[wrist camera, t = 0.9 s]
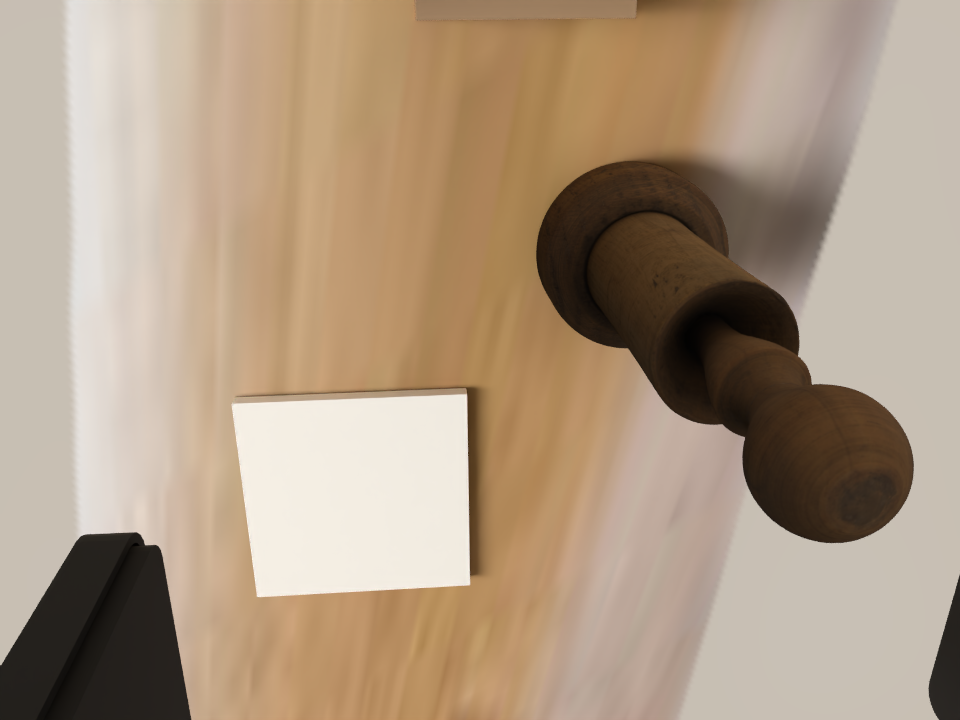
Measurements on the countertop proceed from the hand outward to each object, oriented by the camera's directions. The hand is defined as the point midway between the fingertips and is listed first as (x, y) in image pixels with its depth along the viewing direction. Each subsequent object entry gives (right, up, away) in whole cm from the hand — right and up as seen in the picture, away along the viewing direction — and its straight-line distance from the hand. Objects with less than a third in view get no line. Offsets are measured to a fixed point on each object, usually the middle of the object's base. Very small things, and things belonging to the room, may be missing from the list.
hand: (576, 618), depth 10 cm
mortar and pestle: (+4, +7, +22) cm, 24 cm away
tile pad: (-6, -2, +25) cm, 26 cm away
